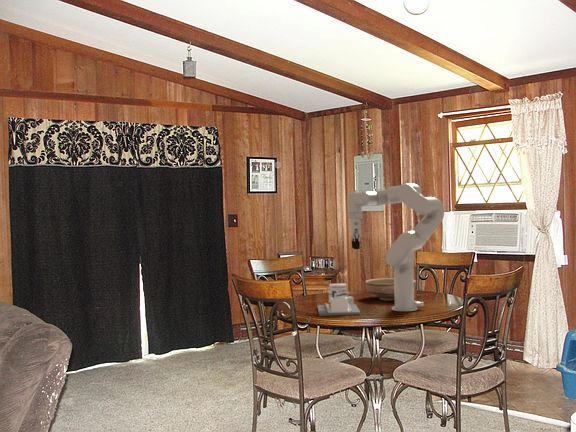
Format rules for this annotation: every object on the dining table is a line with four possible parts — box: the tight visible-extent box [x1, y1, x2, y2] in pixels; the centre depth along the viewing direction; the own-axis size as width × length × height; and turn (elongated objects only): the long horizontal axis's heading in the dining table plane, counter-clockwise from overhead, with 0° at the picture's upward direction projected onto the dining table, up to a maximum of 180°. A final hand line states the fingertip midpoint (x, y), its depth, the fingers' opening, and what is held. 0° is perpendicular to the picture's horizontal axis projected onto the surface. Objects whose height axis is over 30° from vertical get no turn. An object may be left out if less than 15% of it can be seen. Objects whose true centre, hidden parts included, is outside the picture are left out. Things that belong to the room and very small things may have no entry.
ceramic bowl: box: [364, 277, 417, 301], centre depth 359 cm, size 37×29×10 cm
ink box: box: [328, 282, 348, 308], centre depth 322 cm, size 9×5×12 cm, turn 96°
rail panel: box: [317, 296, 361, 317], centre depth 322 cm, size 20×25×8 cm
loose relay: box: [347, 295, 355, 304], centre depth 343 cm, size 4×4×4 cm
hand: (355, 248), depth 335 cm, fingers open, 9 cm apart
